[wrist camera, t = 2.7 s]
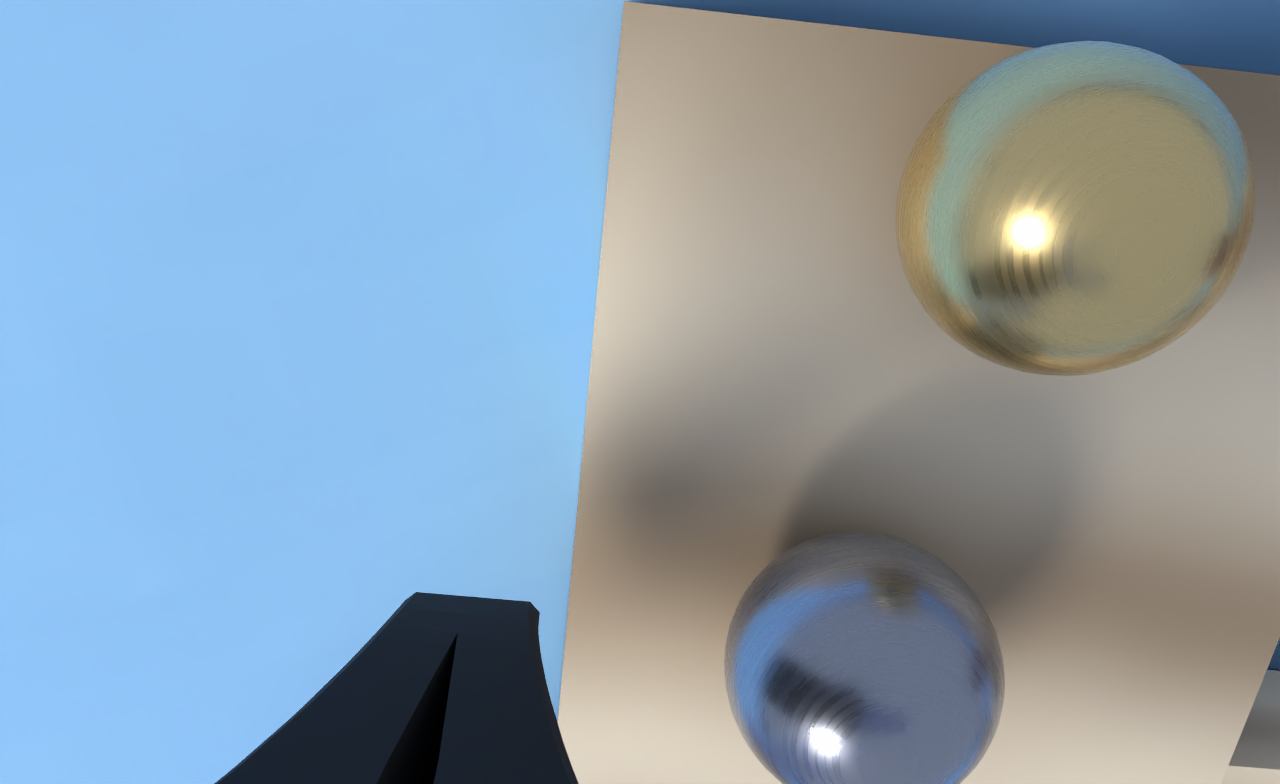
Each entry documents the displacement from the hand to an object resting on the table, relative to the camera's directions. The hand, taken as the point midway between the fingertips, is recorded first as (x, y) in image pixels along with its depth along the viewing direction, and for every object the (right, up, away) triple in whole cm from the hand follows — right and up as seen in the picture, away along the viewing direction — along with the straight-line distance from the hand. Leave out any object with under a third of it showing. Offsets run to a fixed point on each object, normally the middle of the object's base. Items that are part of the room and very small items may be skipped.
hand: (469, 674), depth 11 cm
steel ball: (+4, 0, +1) cm, 5 cm away
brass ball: (+6, +5, -1) cm, 8 cm away
